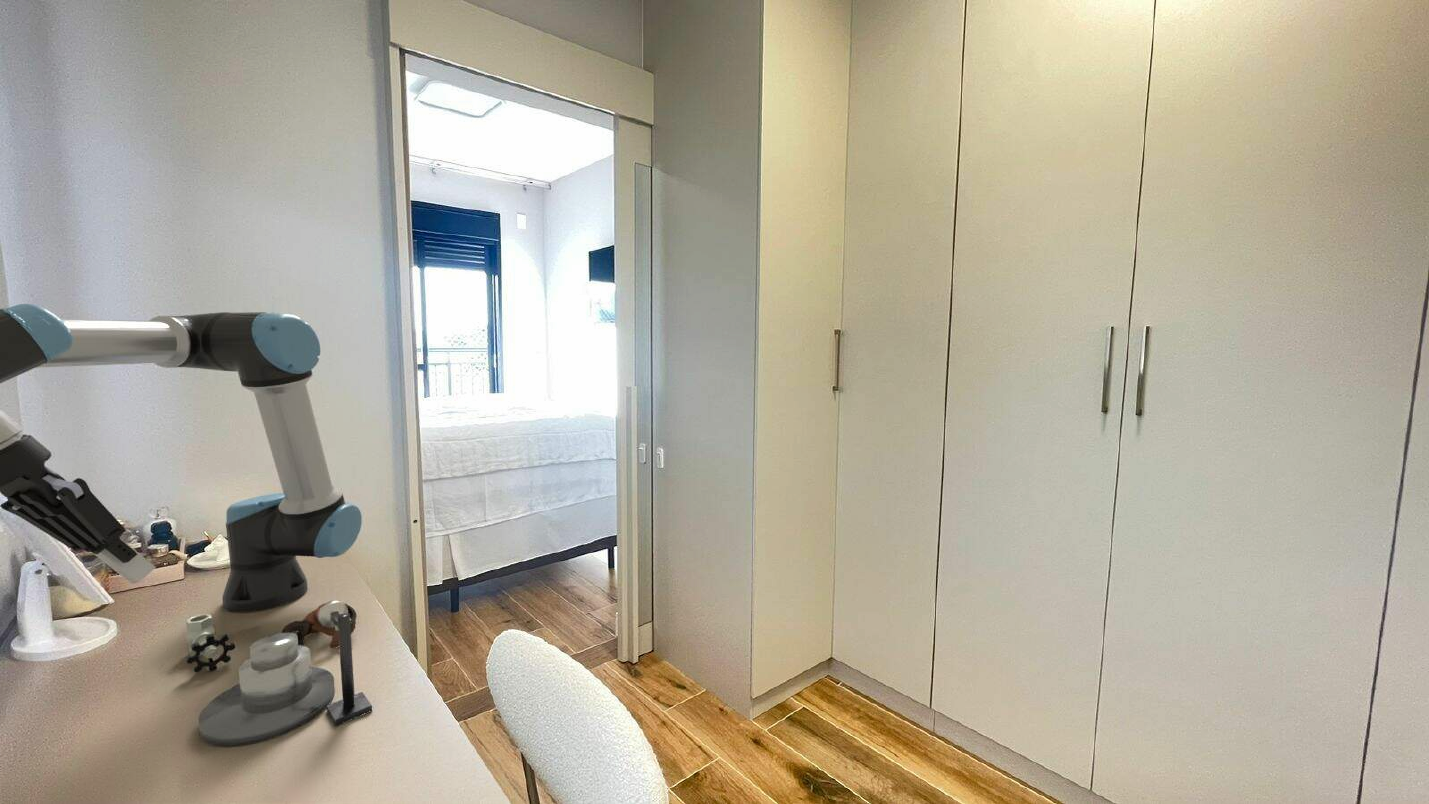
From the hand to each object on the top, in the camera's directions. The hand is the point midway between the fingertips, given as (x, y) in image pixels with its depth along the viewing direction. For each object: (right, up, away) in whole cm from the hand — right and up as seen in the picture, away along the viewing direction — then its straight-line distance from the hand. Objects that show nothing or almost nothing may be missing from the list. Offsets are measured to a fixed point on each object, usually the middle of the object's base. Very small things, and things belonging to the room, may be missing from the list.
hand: (143, 575), depth 82 cm
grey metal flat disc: (+11, -24, +9) cm, 28 cm away
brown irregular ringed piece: (+6, -22, +29) cm, 37 cm away
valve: (-11, -23, +23) cm, 34 cm away
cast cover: (+12, -22, +9) cm, 27 cm away
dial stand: (+23, -24, +10) cm, 34 cm away
